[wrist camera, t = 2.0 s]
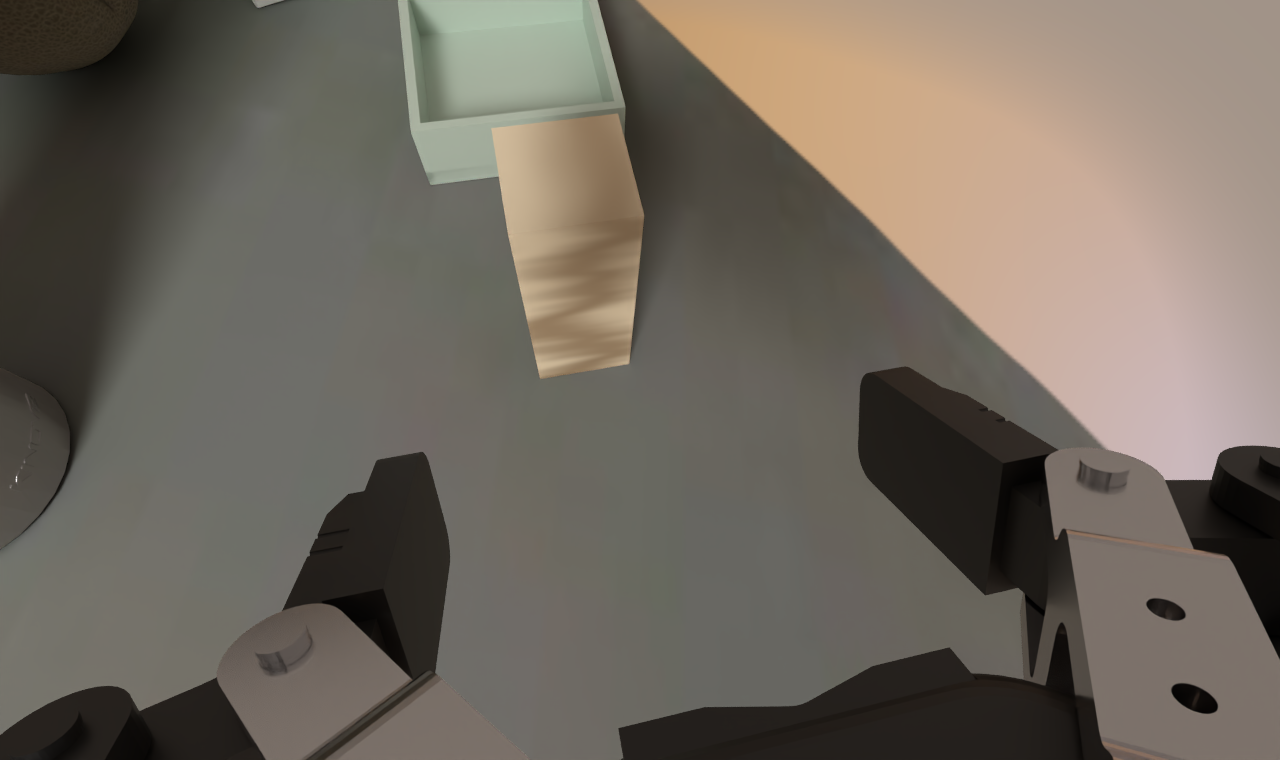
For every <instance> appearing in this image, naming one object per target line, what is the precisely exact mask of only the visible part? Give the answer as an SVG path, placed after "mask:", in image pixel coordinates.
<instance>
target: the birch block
mask: <svg viewBox="0 0 1280 760" xmlns="http://www.w3.org/2000/svg"><path fill="white" fill-rule="evenodd" d="M491 130H492V136H493V142H494V149H495V155H496V161H497V167H498V174H499V180H500V186H501V193H502V199H503V205H504V211H505V218H506V224H507V230H508V236H509V240H510V245H511V249H512V254H513V258H514V263H515V267H516V272H517V276H518V281H519V285H520V290H521V295H522V299H523V304H524V308H525V313H526V317H527V322H528V326H529V331H530V335H531V340H532V344H533V349H534V353H535V358H536V362H537V367H538V371H539V376H540V379H543V378H549V377H554V376H560V375H566V374H572V373H578V372H584V371H590V370H596V369H602V368H608V367H613V366H619V365H625V364H629V361H630V351H631V341H632V331H633V322H634V312H635V302H636V292H637V282H638V273H639V263H640V253H641V243H642V234H643V224H644V212H643V208H642V205H641V201H640V197H639V193H638V189H637V185H636V181H635V177H634V174H633V170H632V166H631V162H630V158H629V154H628V150H627V146H626V143H625V139H624V135H623V131H622V127H621V123H620V119H619V115H618V114H609V115H601V116H592V117H583V118H575V119H566V120H558V121H549V122H540V123H532V124H523V125H515V126H506V127H497V128H491Z"/></svg>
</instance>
